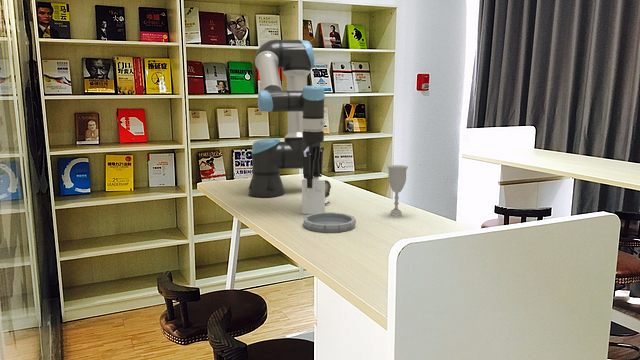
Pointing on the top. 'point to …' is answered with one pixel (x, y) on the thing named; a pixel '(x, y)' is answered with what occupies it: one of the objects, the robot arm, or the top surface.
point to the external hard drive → (313, 198)
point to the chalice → (396, 185)
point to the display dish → (329, 222)
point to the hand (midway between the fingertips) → (312, 195)
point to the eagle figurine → (327, 190)
